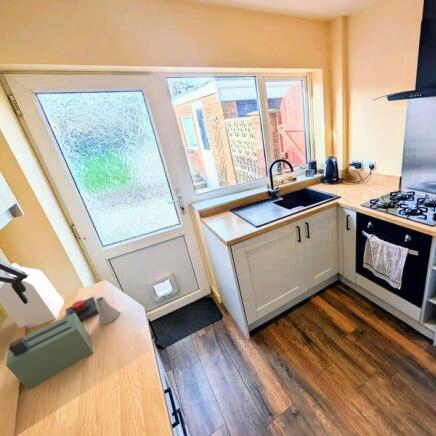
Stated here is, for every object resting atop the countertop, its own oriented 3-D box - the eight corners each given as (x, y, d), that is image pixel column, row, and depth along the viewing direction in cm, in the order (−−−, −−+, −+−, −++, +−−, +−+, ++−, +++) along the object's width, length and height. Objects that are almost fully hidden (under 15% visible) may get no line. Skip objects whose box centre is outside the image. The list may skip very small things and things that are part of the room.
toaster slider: (16, 351, 76) (9, 343, 74) (29, 345, 78) (22, 337, 76) (15, 356, 74) (8, 348, 73) (28, 349, 76) (22, 341, 74)
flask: (95, 323, 100) (84, 305, 96) (110, 310, 106) (100, 292, 102) (109, 325, 98) (98, 307, 94) (124, 311, 104) (114, 293, 100)
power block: (68, 312, 107) (63, 305, 106) (95, 300, 113) (91, 293, 112) (69, 327, 99) (64, 320, 97) (99, 313, 105) (95, 306, 103)
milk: (32, 312, 110) (-2, 264, 99) (64, 301, 115) (34, 255, 104) (21, 331, 100) (-20, 280, 89) (56, 318, 105) (21, 269, 94)
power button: (73, 307, 105) (71, 304, 104) (84, 302, 107) (82, 298, 106) (74, 311, 102) (72, 308, 101) (85, 306, 104) (83, 303, 104)
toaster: (30, 366, 84) (9, 342, 79) (89, 335, 94) (74, 312, 89) (28, 390, 77) (5, 365, 72) (93, 353, 87) (77, 328, 82)
